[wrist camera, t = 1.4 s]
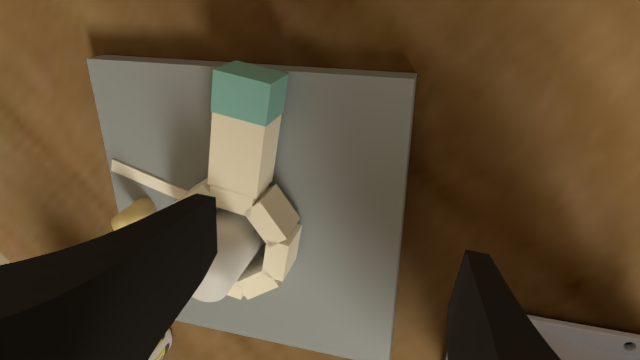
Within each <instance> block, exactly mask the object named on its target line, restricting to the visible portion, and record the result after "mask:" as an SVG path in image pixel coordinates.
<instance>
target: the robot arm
mask: <svg viewBox="0 0 640 360" xmlns="http://www.w3.org/2000/svg"><path fill="white" fill-rule="evenodd" d="M217 253H218V251H217V219H216V197H212V196H207V195H203V194H198V193H196V194H194V195H191V196H189V197H187V198H184V199H182V200H180V201H178V202H176V203H174V204H172V205H170V206H168V207H166V208H163V209H161V210H159V211H157V212H155V213H153V214H151V215H149V216H147V217H145V218H142V219H140V220H138V221H136V222H134V223H131V224H129V225H127V226H124V227H122V228H120V229H117V230H115V231H113V232H110V233H108V234H106V235H103V236H100V237H98V238H95V239H92V240H90V241H87V242H84V243H81V244H78V245H75V246H72V247H69V248H66V249H63V250H60V251H56V252H52V253H49V254H45V255H41V256H37V257H34V258H30V259H26V260H22V261H18V262H14V263H9V264H4V265H0V360H148V359H149V358H150V356H151V354H152V353H153V351H154V349H155V348H156V346H157V345H158V343H159V342H160V340H161V339H162V337H163V336H164V335H165V333H166V332H167V330H168V329H169V328H170V326H171V325H172V323H173V322H174V321H175V319H176V318H177V317H178V315H179V314H180V312H181V311H182V310H183V308H184V307H185V305H186V304H187V303H188V301H189V300H190V298H191V297H192V296H193V294H194V293H195V291H196V290H197V288H198V287H199V286H200V284H201V283H202V281H203V280H204V278H205V276H206V274H207V272H208V270H209V268H210V267H211V265H212V263H213V261H214V259H215V257H216V255H217ZM446 342H447V355H446V360H640V335H638V334H632V333H627V332H621V331H615V330H610V329H604V328H599V327H593V326H587V325H582V324H576V323H570V322H565V321H559V320H554V319H548V318H542V317H537V316H531V315H526V313H525V312H524V310H523V309H522V307H521V306H520V304H519V303H518V301H517V300H516V298H515V296H514V295H513V293H512V292H511V290H510V288H509V287H508V285H507V283H506V282H505V280H504V278H503V277H502V275H501V273H500V272H499V270H498V268H497V267H496V265H495V263H494V261H493V260H492V258H491V257H490V255H489V254H484V253H480V252H475V251H470V250H465V253H464V256H463V260H462V263H461V266H460V269H459V273H458V276H457V279H456V283H455V286H454V289H453V292H452V296H451V299H450V302H449V305H448V319H447V337H446ZM627 342H632V344H629V345H625V343H627Z"/></svg>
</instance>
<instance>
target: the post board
mask: <svg viewBox="0 0 640 360" xmlns="http://www.w3.org/2000/svg"><path fill="white" fill-rule="evenodd" d="M228 63H230V62H220V61H203V60H186V59H169V58H152V57H135V56H118V55H99V56H95V57H91V58H87V64H88V69H89V74H90V78H91V83H92V88H93V93H94V97H95V102H96V107H97V112H98V117H99V121H100V126H101V131H102V136H103V140H104V145H105V150H106V155H107V160H108V164H109V169H110V174H111V179H112V183H113V188H114V193H115V198H116V203H117V207H118V212H119V214H117V215H116V216H114V217H113V218H112V220H111V226H112V228H113V230H114V231H115V230H117V229H120V228H122V227H124V226H127V225H129V224H131V223H134V222H136V221H138V220H140V219H142V218H145V217H147V216H149V215H151V214H153V213H155V212H157V211H159V210H161V209H163V208H166V207H168V206H170V205H172V204H173V203H174V202H175V201H177V200H178V199H179V198H180V197H182V196H183V195H184V194H185V193H186V192H188V191H189V190H190V189H191V188H193V187H194V186H195V185H197V184H198V183H200V182H202V181H203V180H205V179H206V178H208V167H209V152H210V136H211V121H212V112H210V111H211V95H212V79H213V69H215V68H218V67H220V66H223V65H225V64H228ZM249 64H253V63H249ZM253 65H257V66H261V67H265V68H269V69H273V70H277V71H281V72H285V73H289V77H288V84H287V91H286V98H285V105H284V112H283V113H282V116H281V123H280V130H279V137H278V145H277V152H276V159H275V166H274V173H273V180H272V182H271V183H270V184H269V188H270V187H271V186H273V185H275V184H277V185H278V187H279V188H280V190H281V191H282V193H283V194H284V195H285V197H286V198H287V200H288V201H289V203H290V204H291V205H292V207H293V208H294V210H295V211H296V212H297V214H298V215H299V217H300V220H299V221H298V223H297V224H300V225H302V229H301V235H300V240H299V245H298V251H297V256H296V260H295V261H294V263H293V265H292V267H291V268H290V270H289V272H288V274H287V275H286V277H285V279H284V281H283V282H281V284H280V286H279V287H277V288H275V289H272V290H270V291H268V292H265V293H263V294H260V295H258V296H256V297H253V298H251V299H249V300H247V298H246V297H245V296H243V297H242V299H241V300H240V299H237V298H234V297H231V296H228V295H227V293H228V292H229V291H230V289H231V288H232V286H233V285H234V284H235V282H236V281H237V280H238V278H239V277H240V275H241V274H242V273H243V271H244V270H245V269H246V267H247V266H248V264H249V263H250V262H251V260H252V259H256V258H258V257H260V256H262V255H264V254H265V247H266V243H265V242H264V240H263V239H262V238H261V236H260V235H259V233H258V232H257V231H256V229H255V228H254V227H253V225H252V224H251V223H250V221H249V220H248V218H247V217H246V216H244V215H241V214H237V213H234V212H231V211H228V210H225V209H221V208H218V207H216V219H217V251H218V253H217V255H216V257H215V259H214V261H213V263H212V265H211V267H210V268H209V270H208V272H207V274H206V276H205V278H204V280H203V281H202V283H201V284H200V286H199V287H198V288H197V290H196V291H195V293H194V294H193V296H192V297H191V298H190V300H189V301H188V303H187V304H186V305H185V307H184V308H183V310H182V311H181V312H180V314H179V315H178V317H177V318H176V319H175V321H180V322H185V323H189V324H194V325H198V326H203V327H207V328H212V329H216V330H221V331H226V332H230V333H235V334H239V335H244V336H248V337H253V338H257V339H262V340H267V341H271V342H276V343H280V344H285V345H289V346H294V347H298V348H303V349H307V350H312V351H317V352H321V353H326V354H330V355H335V356H339V357H344V358H348V359H353V360H390V357H391V351H392V340H393V329H394V319H395V308H396V297H397V286H398V275H399V265H400V254H401V243H402V232H403V221H404V211H405V200H406V189H407V178H408V167H409V156H410V146H411V135H412V124H413V113H414V102H415V92H416V81H417V73H406V72H389V71H372V70H355V69H338V68H321V67H304V66H287V65H270V64H253Z"/></svg>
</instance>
